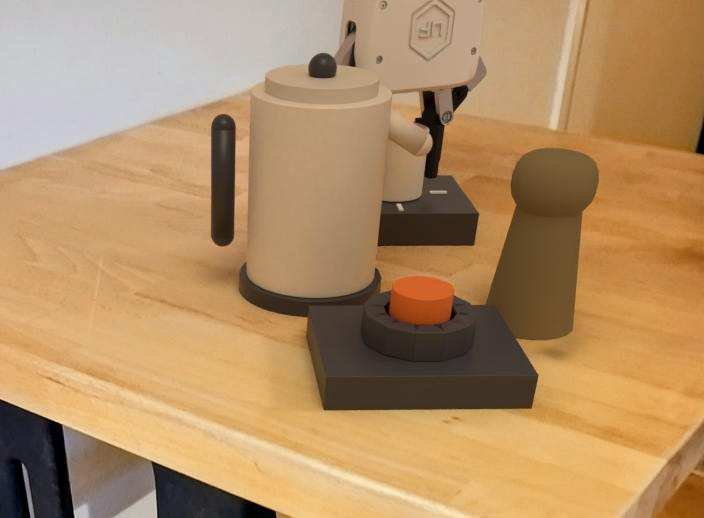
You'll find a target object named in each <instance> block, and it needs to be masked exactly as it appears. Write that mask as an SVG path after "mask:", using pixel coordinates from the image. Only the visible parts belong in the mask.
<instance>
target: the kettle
mask: <svg viewBox="0 0 704 518" xmlns="http://www.w3.org/2000/svg"><path fill="white" fill-rule="evenodd" d="M333 57H334V56H332V55H331V54H330V53H327V52H319V53H317V54H315V55H314V56H313V57H312V58H311V59H310V61H309V63H303V64H302V63H301V64H300V63H299V64H290V65H284V66H279V67H275V68H272V69H269V70H268V71H266V73H264V80H263V81H261V82H258V83H256V84H254V85H253V86H252V87H250V95H249V96H250V99H249V103H250V104H249V141H248V143H249V144H248V145H249V146H248V181H247V182H248V186H247V226H246V227H247V232H246V233H247V234H246V261H245V262H244V263H243V264H242V265H241V267H240V269H239V271H238V273H239V275H238V291H239V294H240V295H241V297H242V298H243V299H244V300H245V301H247V302H248V303H249V304H251V305H253V306H255V307H257V308H259V309H262V310H264V311H267V312H271V313H275V314H279V315H283V316H284V315H285V316H290V317H296V318H297V317H298V318H308V306H356V305H363V304H364V303H365V302H366V301H367V300H368V299H370V298H371V297H372V296H373V295H375V294H378V293H381V284H382V274H381V272H380V270H379V269H378V268H377V267H376V263H377V262H376V261H377V254H378V253H377V252H378V245H377V244H378V234H379V224H380V214H381V204H382V194H383V184H384V174H385V164H386V154H387V144H388V139H390V140H391V141H393V142H394V143H396V144H397V145H399V146H400V147H402V148H403V149H405V150H407V151H408V152H410V153H411V154H413V155H415V156H424V155H426V154H427V153H429V151H430V150H431V148H432V144H433V141H432V137H431V135H430V134H429V133H428V132H426V131H425V130H423V129H422V128H420V127H419V126H417V125H416V124H414V123H413V122H414V121H412V120H410V119H408V118H407V117H405V116H404V115H402V114H401V113H399V112H397V111H396V110H395V109H393V108H392V102H393V94H392V92H391V91H390V90H389V89H388V88H386V87H384V86H382V85H379V79H380V78H379V76H378V75H377V74H375V73H374V72H371V71H369V70H365V69H361V68H357V67H351V66H343V65H337V64H336V61H335V59H334V58H333ZM236 136H237V124H236V121H235V120H234V118H233V117H232V116H231V115H229V114H227V113H220V114H217V115H216V116H215V117H213V119H212V121H211V124H210V238H211V240H212V242H213V243H214V244H215V245H216V246H218V247H220V248H223V247H227V246H230V245H231V244H232V242H233V241H234V239H235V213H236V211H235V209H236V207H235V205H236V150H237V149H236V148H237V146H236V144H237V143H236V142H237V141H236V140H237V137H236Z"/></svg>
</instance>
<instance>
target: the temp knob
mask: <svg viewBox="0 0 704 518" xmlns="http://www.w3.org/2000/svg"><path fill="white" fill-rule="evenodd" d="M412 122H413V123H414V124H416V125H417V126H419V127H420V128H422V129H423V130H425V131H426V132H428V133H429V128H428V127H427V126H425V125H422V124H419V123H415V122H414V121H412ZM426 155H427V154H426ZM426 155H424V156H415V155H413V154H411V153H410V152H408V151H407V150H405V149H403V148H402V147H400V146H399V145H397V144H396V143H394V142H393V141H391V140H390V139H388V144H387V154H386V164H385V174H384V184H383V194H382V201H389V202H404V201H411V200H415V199H417V198H419V197H420V196H421V194H422V187H423V179H424V171H425V163H426Z"/></svg>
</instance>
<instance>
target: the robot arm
mask: <svg viewBox="0 0 704 518" xmlns="http://www.w3.org/2000/svg"><path fill="white" fill-rule="evenodd" d="M342 6H343V7H342V12H341V13H342V14H341V21H340V29H339V39H338V40H339V41H338V49H337V51H336V53H335V55H333V56H332V57H333V58H334V59H335V61H336V64H337V65H343V66H351V67H357V68H361V69H365V70H369V71H371V72H374V73H375V74H377V75H378V76H379V78H380V79H379V85H382V86H384V87H386V88H388V89H389V90H390V91H391V92H392V95H401V94H409V93H418V97H419V108H420V115H421V116H420V117H415V118H414V121H413V122H415V123H419V124H422V125H425V126H427V127H428V128H429V134H430V135H431V137H432V141H433V144H432V148H431V150H430V151H429V153H427V155H426V163H425V171H424V177H427V178H429V179H431V178H436V177H437V175H439V166H440V161H441V159H442V158H441V157H442V150H443V142H444V137H445V136H444V135H445V126H449V125H450V124H451V123H452V122H453V120H454V115H455V114H454V113H455V112H456V111H457V109H458V108H459V107H460V106H461V105H462V104H463V103H464V101H465V100H466V98H467V97H468V94H469V93H470V92H472V91H473V90H474V88H476V87H477V86H478V85H479V84H480V83H481V82H482V81H483V80H484V79H485V77H486V76H487V68H486V66H485V63H484V61H483V59H482V57H481V55H480V51H481V44H482V33H483V24H484V23H483V22H484V7H485V0H343V5H342Z"/></svg>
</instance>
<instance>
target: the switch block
mask: <svg viewBox="0 0 704 518" xmlns="http://www.w3.org/2000/svg"><path fill="white" fill-rule="evenodd" d="M390 298H391V289H390V290H386V291H382V292H380V293H378V294H375V295H373V296H372V297H371V298H370V299H368V300H367V301H366V302H365V303H364V304H363V305H356V306H308V317H307V318H306V320H307V321H306V336H305V337H306V341H307V345H308V350H309V354H310V359H311V363H312V366H313V372H314V375H315V381H316V383H317V388H318V391H319V397H320V400H321V405H322V409H323V411H325V412H326V411H417V410H418V411H425V410H426V411H428V410H436V411H437V410H438V411H439V410H442V411H443V410H531V409H533V405H534V398H535V394H536V389H537V385H538V380H539V377H540V375H539V373H538V372H537V370H536V368H535V367H534V365H533V363H532V362H531V360H530V359H529V358H528V356H527V354H526V352H525V351H524V349H523V348H522V346H521V344H520V343H519V341H518V340H517V338H515V337H514V335H513V333H512V332H511V330H510V329H509V327H508V325H507V324H506V322H505V320H504V319H503V317H502V316H501V314H500V312H499V311H498V309H497V308H496V306H495V305H485V304H472V303H471V302H469V301H467V300H465V299H462V298H460V297H458V296H456V295H455V294H454V297H453V304H452V311H451V317H450V320H449V321H446V322H443V323H439V324H412V323H407V322H403V321H399V320H397V319H395V318H393V317H391V316H390V315H389V307H390Z"/></svg>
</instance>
